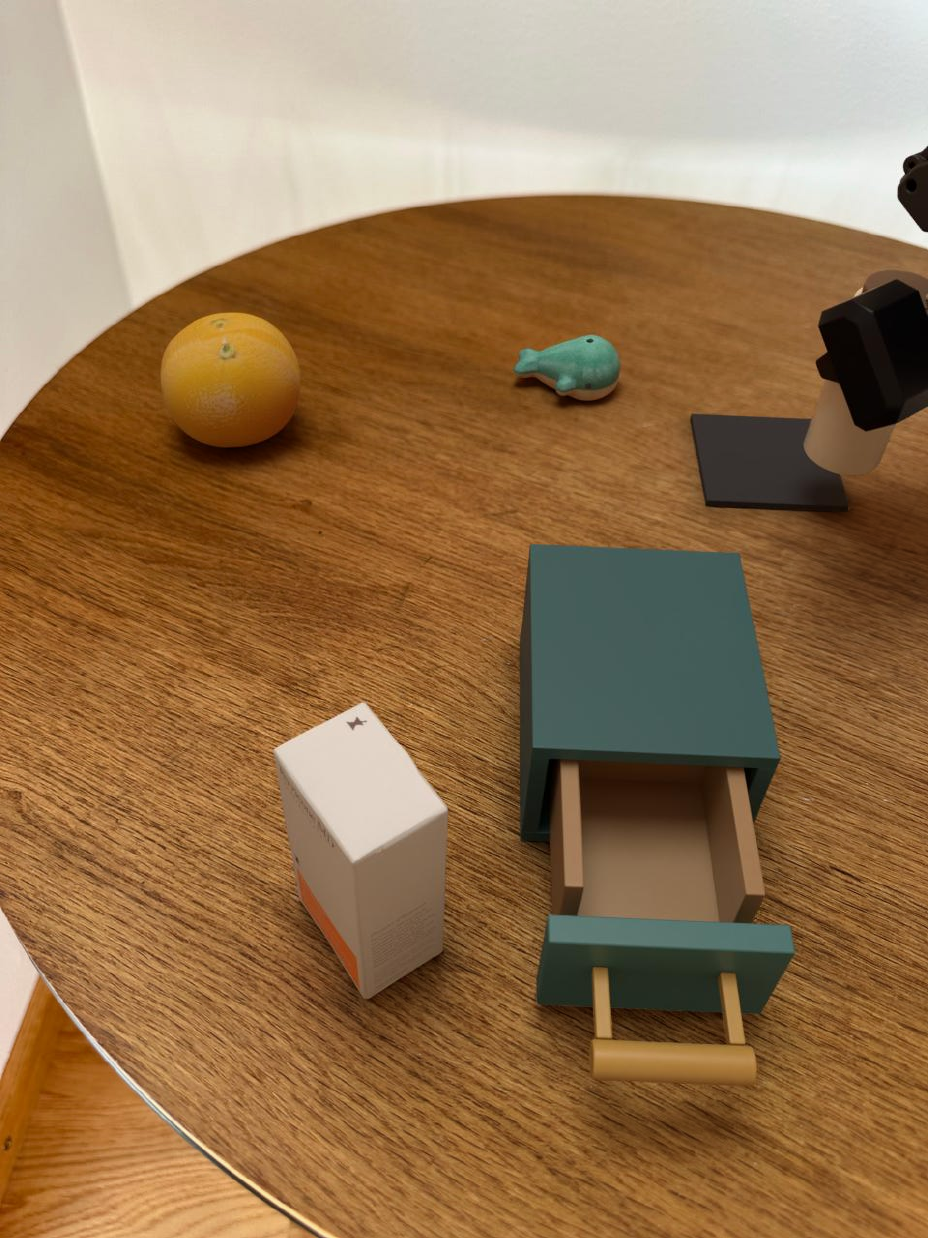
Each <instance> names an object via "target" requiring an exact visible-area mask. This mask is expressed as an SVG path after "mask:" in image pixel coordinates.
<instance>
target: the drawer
mask: <svg viewBox="0 0 928 1238" xmlns="http://www.w3.org/2000/svg"><path fill="white" fill-rule="evenodd" d="M548 776H549V817H550V842H549V846H550V847H549V852H550V857H549V858H550V894H551V895H550V896H551V899H550V901H551V914H548V916H547V919H546V924H545V931H544V935H543V941H542V946H541V952H540V957H539V962H538V968H537V973H536V979H535V983H536V985H535V987H536V989H535V990H536V991H535V992H536V993H535V995H536V1004H537V1005H542V1006H565V1007H584V1008H585V1007H586V1008H587V1007H589V1008H592V1011H593V1013H592V1014H593V1015H592V1016H593V1033H594V1035H593V1036H594V1038H593V1039H591V1040H590V1043H589V1050H588V1067H589V1069H588V1070H589V1077H590V1079H592V1080H595V1081H615V1082H637V1083H638V1082H639V1083H657V1084H658V1083H659V1084H660V1083H662V1084H679V1085H680V1084H682V1085H683V1084H685V1085H704V1086H705V1085H706V1086H729V1087H747V1088H748V1087H750V1088H751V1087H754V1086H755V1085H756V1082H757V1076H758V1066H757V1058H756V1053H755V1051H754V1049H753V1047H752V1046H750V1045H746V1036H745V1030H744V1023H743V1017H742V1015H743V1014H744V1015H745V1014H747V1015H761V1014H762V1012H763V1010H764V1009H765V1006H766V1005H767V1003H768V1002H769V1000H770V998H771V996H772V994H773V993H774V991H775V989H776V988H777V986H778V984H779V982H780V981H781V979H782V977H783V975H784V974H785V972H786V970H787V968H788V966H790V963H791V961H792V960H793V958H794V956H795V954H796V950H795V945H794V944H795V943H794V937H793V933H792V932H793V931H792V927H791V925H789V924H776V923H775V924H774V923H773V924H772V923H753V921H754V920H755V917H756V915H757V913H758V911H759V909H760V907H761V905H762V903H763V901H764V899H765V897H766V888H765V883H764V877H763V871H762V866H761V865H762V864H761V859H760V854H759V849H758V848H759V847H758V843H757V838H756V832H755V826H754V823H753V819H752V813H751V807H750V801H749V795H748V790H747V784H746V778H745V772H744V767H724V766H702V765H679V764H657V763H634V762H612V761H589V760H566V759H551V760H550V767H549V773H548ZM611 1009H631V1010H633V1009H634V1010H652V1011H653V1010H655V1011H656V1010H657V1011H679V1012H700V1013H720V1014H722V1021H723V1028H724V1036H725V1044H717V1043H716V1044H715V1043H714V1044H713V1043H692V1042H691V1043H690V1042H673V1041H672V1042H667V1041H647V1040H646V1041H645V1040H628V1039H627V1040H626V1039H623V1040H622V1039H613V1029H612V1028H613V1025H612V1011H611Z"/></svg>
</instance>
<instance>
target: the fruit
mask: <svg viewBox="0 0 928 1238" xmlns="http://www.w3.org/2000/svg"><path fill="white" fill-rule="evenodd" d="M301 377H302V376H301V370H300V365H299V361H298V359H297V356H296V353H295V351H294V349H293V347H292V346H291V343H290V342H289V341H288V339H287V338H286V336H285V335H284V334H283V333H282V332H281V331H280V330H279V329H278V328H277V327H276V326H275V325H273V324H272V323H271V322H268V321H267V320H266V319H263V318H261V317H259V316H257V315H253V314H249V313H244V312H219V313H214V314H209V315H206V316H203V317H201V318H199V319H196V320H194V321H193V322H191V323H189V324H188V325H186V326H185V327H184V328H183V329H181V330H180V331H179V332H178V333H176V335H175V336H174V337H173V338H172V339H171V340H170V342H169V343H168V345H167V346H166V348H165V350H164V353H163V356H162V360H161V365H160V387H161V393H162V397H163V401H164V404H165V407H166V409H167V411H168V413H169V415H170V417H171V419H172V420H173V422H174V423H175V424H176V425H177V427H178V428H179V429H181V431H182V432H184V433H185V434H186V435H188V436H189V437H191V439H194V440H195V441H198V442H200V443H202V444H205V445H207V446H211V447H216V448H241V447H248V446H253V445H256V444H259V443H261V442H264V441H266V440H268V439H270V438H272V437H273V436H275V435H276V434H278V433H280V431H281V430H283V428H284V427H285V426H287V424H288V423H289V422H290V420H291V419H292V417H293V415H294V413H295V410H296V408H297V406H298V402H299V400H300V399H299V398H300V393H301Z"/></svg>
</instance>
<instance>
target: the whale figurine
mask: <svg viewBox="0 0 928 1238" xmlns="http://www.w3.org/2000/svg"><path fill="white" fill-rule="evenodd" d="M619 356H620V355H619V353H618V352H617V349H616V348H615V346H614V345H613V344H612V343H611V342H610V341H608V340H607V339H605V338H604V337H603V336H602V337H601V336H599V335H597V334H585V335H582V336H579V337H577V338H573V339H570V340H566V341H564V342H560V343H557V344H554V345H552V346H549V347H547V348H544V349H543V350H540V351H538V350H535V349H532V348H523V349H521V350H519V353H518V362H517V364H515V366H514V367H513V374H514V376H516V377H518V378H522V379H527V378H536V379H537V380H539V381H540V382H542V383H544V384H545V385H547V386H548V387H550V388H552V389H554V390H555V393H556V394H557V395H559V396H561V397H566V396H569V397H570V398H573V399H576V400H579V401H586V402H587V401H589V402H590V401H596V400H599V399H602V398H605V397H606V396H608V395H609V394H611V393H612V392H613V391H614V390H615V388H616V387H617V385H618V382H619V379H620V373H621V372H620V371H621V361H620V357H619Z"/></svg>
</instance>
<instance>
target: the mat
mask: <svg viewBox="0 0 928 1238" xmlns="http://www.w3.org/2000/svg"><path fill="white" fill-rule="evenodd" d="M811 419H812V418H801V417H800V418H799V417H777V416H776V417H775V416H757V415H756V416H755V415H733V414H732V415H730V414H710V413H691V415H690V419H689V420H690V425H691V431H692V436H693V440H694V447H695V453H696V459H697V464H698V469H699V470H698V471H699V476H700V481H701V487H702V492H703V498H704V504H705V506H706V507H727V508H728V507H730V508H748V509H749V508H751V509H770V510H772V509H774V510H775V509H776V510H795V511H796V510H797V511H798V510H799V511H816V512H817V511H818V512H839V513H847V512H849V509H850V503H849V499H848V497H847V494H846V491H845V488H844V487H845V486H844V484H843V480H842V478H841V474H837V473H833V472H830V471H828V470H826V469H823V468H822V467H820V466H818V465H817V464H815V463H814V462H813V461H812V460H811V459H810V458H809V457H808V455H807V454H806V452H805V449H804V440H805V437H806V434H807V431H808V428H809V425H810V422H811Z"/></svg>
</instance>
